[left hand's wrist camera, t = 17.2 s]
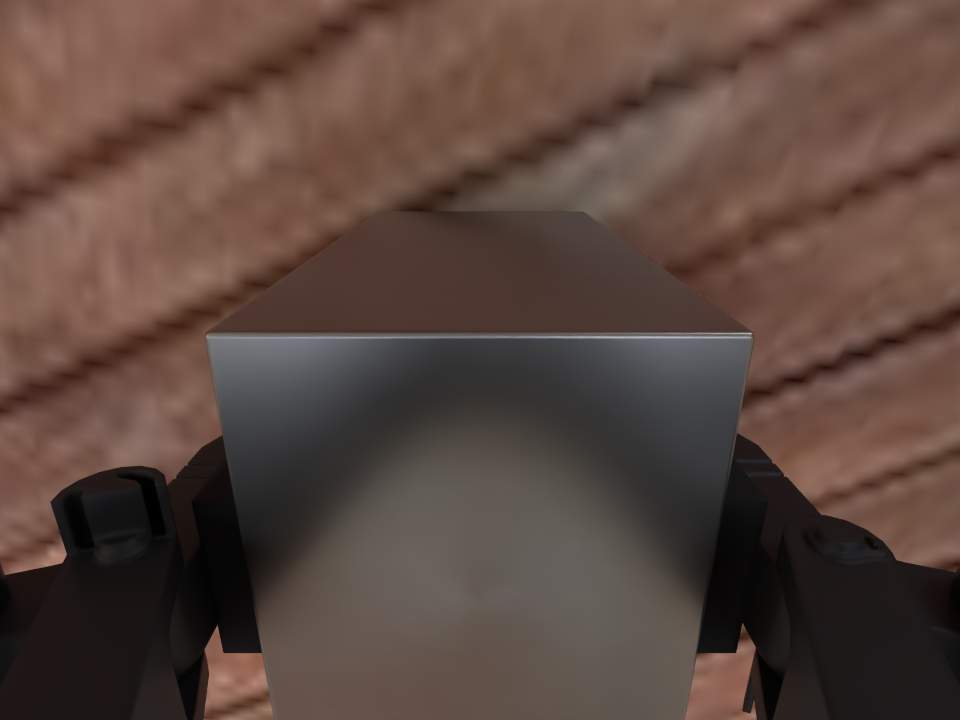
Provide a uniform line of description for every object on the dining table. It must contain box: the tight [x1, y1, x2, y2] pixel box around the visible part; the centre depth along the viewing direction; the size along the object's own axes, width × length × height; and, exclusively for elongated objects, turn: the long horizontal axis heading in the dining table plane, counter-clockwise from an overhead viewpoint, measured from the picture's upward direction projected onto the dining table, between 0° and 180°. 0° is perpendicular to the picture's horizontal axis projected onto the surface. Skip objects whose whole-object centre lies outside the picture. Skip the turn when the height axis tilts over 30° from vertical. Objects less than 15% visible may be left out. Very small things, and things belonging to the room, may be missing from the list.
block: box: [205, 212, 754, 720], centre depth 13 cm, size 6×8×12 cm
